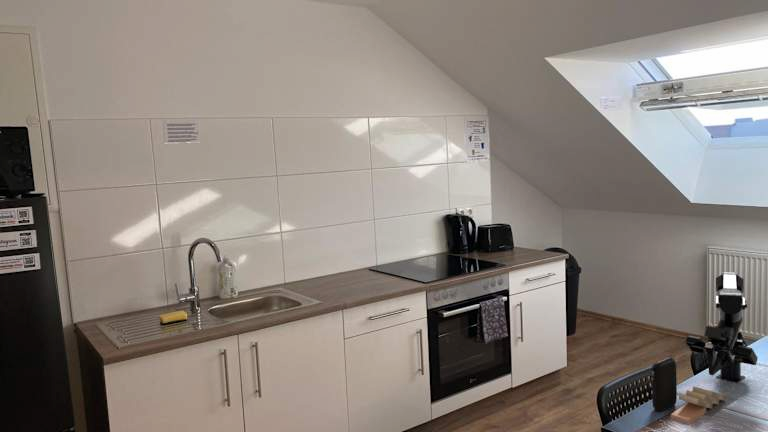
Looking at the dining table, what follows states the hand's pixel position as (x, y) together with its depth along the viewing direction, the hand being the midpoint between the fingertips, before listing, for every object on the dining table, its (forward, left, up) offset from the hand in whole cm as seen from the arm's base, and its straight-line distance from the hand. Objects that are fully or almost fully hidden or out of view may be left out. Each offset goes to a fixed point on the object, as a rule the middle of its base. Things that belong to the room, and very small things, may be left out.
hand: (710, 374), depth 175 cm
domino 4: (-3, 0, -7) cm, 8 cm away
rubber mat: (+2, 0, -9) cm, 9 cm away
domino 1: (+5, 0, -7) cm, 9 cm away
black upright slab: (+14, -7, -9) cm, 18 cm away
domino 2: (+9, 0, -7) cm, 11 cm away
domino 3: (+1, 0, -7) cm, 7 cm away
